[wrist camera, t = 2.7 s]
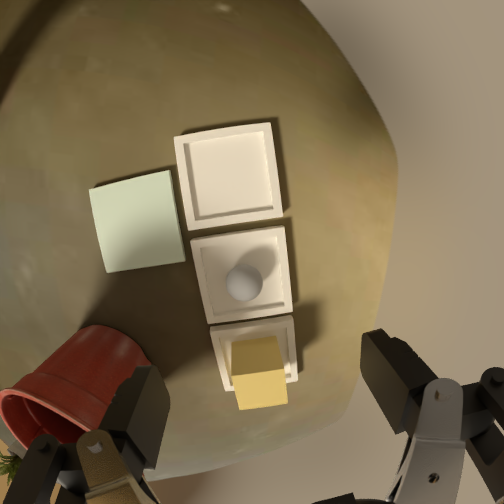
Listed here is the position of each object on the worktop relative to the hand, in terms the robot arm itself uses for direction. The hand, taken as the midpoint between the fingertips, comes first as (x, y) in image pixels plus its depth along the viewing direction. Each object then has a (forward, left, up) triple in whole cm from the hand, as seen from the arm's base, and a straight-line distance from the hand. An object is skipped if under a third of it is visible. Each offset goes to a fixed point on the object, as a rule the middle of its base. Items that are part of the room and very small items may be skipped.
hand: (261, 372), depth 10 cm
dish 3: (+13, -1, -19) cm, 23 cm away
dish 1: (-7, -1, -19) cm, 20 cm away
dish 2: (+3, -1, -19) cm, 19 cm away
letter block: (+13, -1, -18) cm, 22 cm away
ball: (+3, -1, -18) cm, 18 cm away
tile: (-4, -11, -19) cm, 22 cm away
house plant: (+42, -64, -19) cm, 78 cm away
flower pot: (+13, -20, -19) cm, 30 cm away
